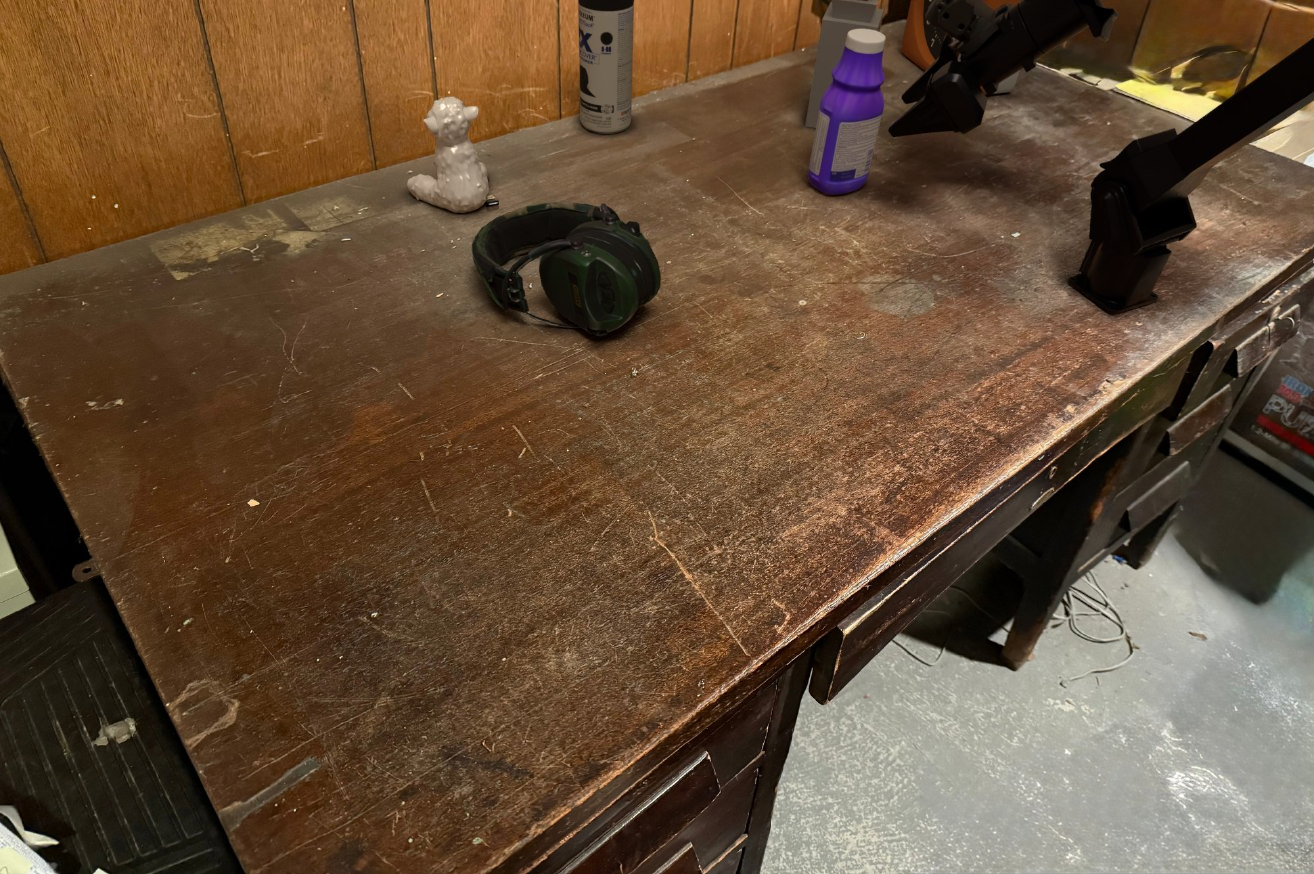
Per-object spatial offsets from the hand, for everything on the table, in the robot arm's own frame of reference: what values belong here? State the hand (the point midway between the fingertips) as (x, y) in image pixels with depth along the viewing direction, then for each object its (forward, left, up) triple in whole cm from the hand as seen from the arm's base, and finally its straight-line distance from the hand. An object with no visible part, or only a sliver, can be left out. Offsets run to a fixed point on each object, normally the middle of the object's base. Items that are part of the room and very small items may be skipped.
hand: (896, 116), depth 98 cm
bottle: (+4, +4, -10) cm, 11 cm away
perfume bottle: (+19, -6, -10) cm, 22 cm away
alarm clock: (+26, -32, -10) cm, 43 cm away
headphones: (-5, +42, -10) cm, 43 cm away
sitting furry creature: (+17, +46, -10) cm, 50 cm away
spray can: (+29, +23, -10) cm, 38 cm away
